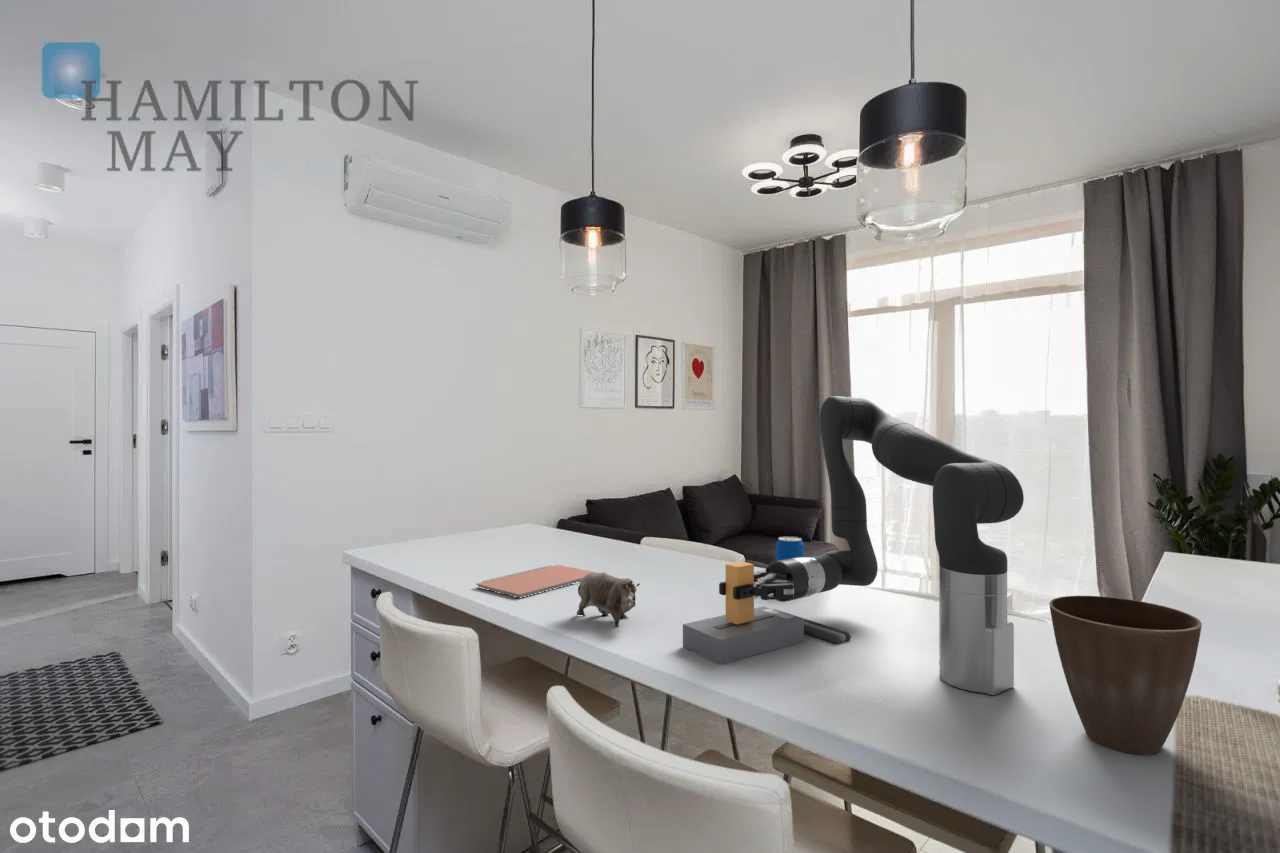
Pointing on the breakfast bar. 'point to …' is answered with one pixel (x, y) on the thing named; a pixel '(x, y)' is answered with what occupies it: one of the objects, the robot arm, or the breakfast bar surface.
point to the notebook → (535, 580)
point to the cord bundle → (824, 631)
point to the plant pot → (1125, 667)
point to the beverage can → (789, 548)
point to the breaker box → (742, 635)
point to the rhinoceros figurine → (607, 595)
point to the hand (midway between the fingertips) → (727, 591)
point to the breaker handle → (735, 576)
